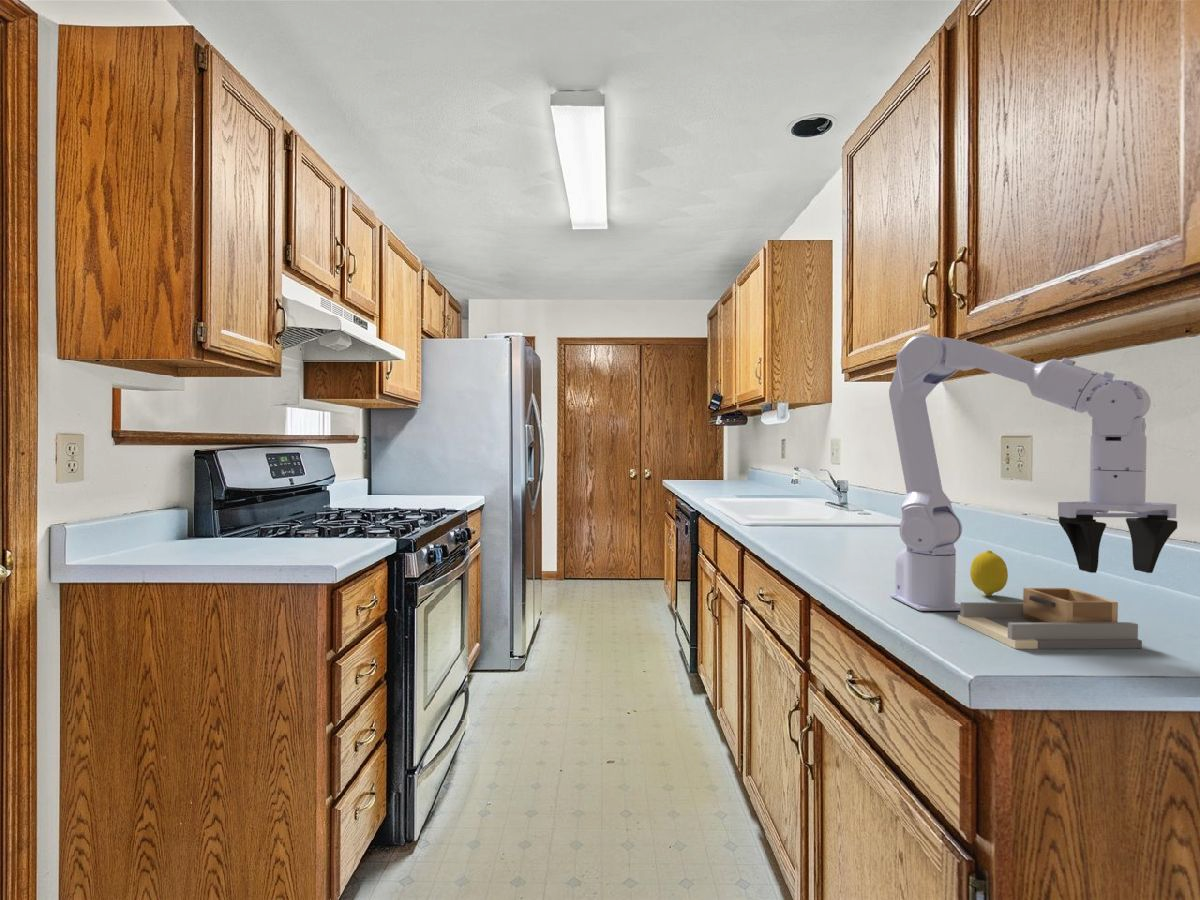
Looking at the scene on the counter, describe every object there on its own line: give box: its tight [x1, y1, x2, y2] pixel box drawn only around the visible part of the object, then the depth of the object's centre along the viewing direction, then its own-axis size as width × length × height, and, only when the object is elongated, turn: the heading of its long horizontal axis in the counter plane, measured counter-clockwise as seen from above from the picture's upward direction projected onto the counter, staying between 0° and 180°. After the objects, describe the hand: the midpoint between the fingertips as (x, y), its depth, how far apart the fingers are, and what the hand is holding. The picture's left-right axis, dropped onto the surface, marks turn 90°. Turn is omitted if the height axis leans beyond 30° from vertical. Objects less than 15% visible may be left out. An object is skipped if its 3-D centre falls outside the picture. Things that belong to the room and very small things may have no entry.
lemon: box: [969, 549, 1009, 597], centre depth 106 cm, size 6×6×8 cm
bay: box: [957, 601, 1143, 650], centre depth 85 cm, size 12×17×3 cm
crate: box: [1022, 587, 1119, 622], centre depth 85 cm, size 8×8×4 cm
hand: (1115, 571), depth 82 cm, fingers open, 7 cm apart
